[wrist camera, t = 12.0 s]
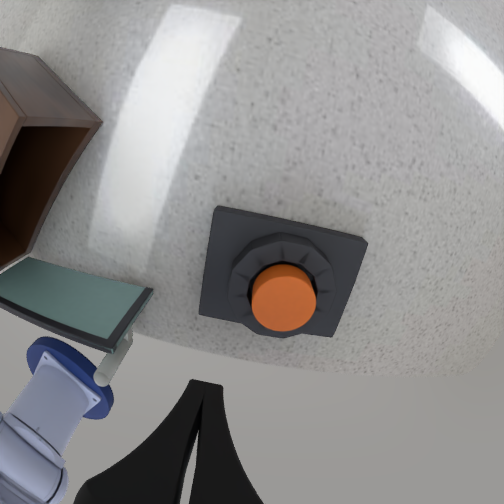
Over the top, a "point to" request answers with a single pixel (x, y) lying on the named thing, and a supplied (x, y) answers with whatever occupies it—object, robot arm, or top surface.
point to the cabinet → (35, 146)
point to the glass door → (76, 307)
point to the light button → (283, 298)
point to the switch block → (274, 253)
